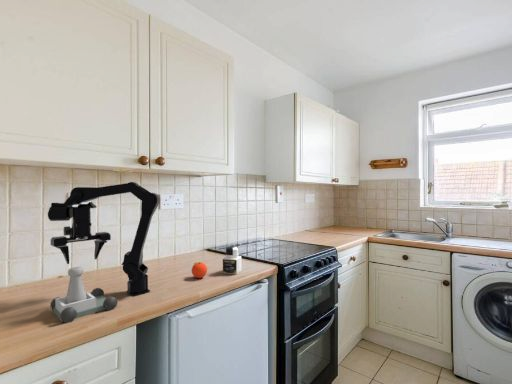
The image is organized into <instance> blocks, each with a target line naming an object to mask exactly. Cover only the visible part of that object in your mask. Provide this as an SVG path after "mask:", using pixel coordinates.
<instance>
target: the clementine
mask: <svg viewBox="0 0 512 384" xmlns="http://www.w3.org/2000/svg"><path fill="white" fill-rule="evenodd" d="M207 272H208V268H207V265H206V264H205V263H204V262H203V261H201V262H200V261H195V262H194V264H193V265H192V267H191V274H192V276H194V277H195V278H196V279H201V278H204V277H205V276H206V275H207Z"/></svg>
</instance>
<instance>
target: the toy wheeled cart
mask: <svg viewBox="0 0 512 384" xmlns="http://www.w3.org/2000/svg"><path fill="white" fill-rule="evenodd" d="M85 293H86V297H87V298H86V300H82V301H78V302H74V303H70V304H66V297H67V295H64V296H58V297H55V298H53V299H52V300H51V301H50V304H49V305H50V309H52V310H53V314H54V315H56V317H57V318H58V319H59V321H60V322H61V323H70V322H73V321H74V320H75V319H78V318H82V317H85V316H89V315H92V314H95V313H98V312H103V311H105V310H106V311H111V310H114V309H115V308H116V307H117V305H118V299H117V298H116V297H114V296H108V297H107V296H105V291H104V290H103V289H102V288H100V287H95V288H93V289H92V291H91V292H89V291H87V290H85Z"/></svg>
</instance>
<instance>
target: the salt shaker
mask: <svg viewBox="0 0 512 384" xmlns="http://www.w3.org/2000/svg"><path fill="white" fill-rule="evenodd" d="M84 272H85V271H84V267H82V266H73V267H70V268H69V269H68V270H67V276H69V282H68V288H67V292H66V296H67V297H66V304H70V303H74V302H78V301H82V300H86V298H87V297H86V293H85V291H86V289H85V286H84V282H83V278H82V275H84Z"/></svg>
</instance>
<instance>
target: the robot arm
mask: <svg viewBox="0 0 512 384" xmlns="http://www.w3.org/2000/svg"><path fill="white" fill-rule="evenodd" d="M127 193H128V194H129V193H131V194H132V195H133V196H134V197H136V198H137V199H138V200H140V201H141V203H140V205H141V206H140V207H141V208H140V210H141V211H140V212H141V214H140V219H139V222H138V225H137V229H136V233H135V236H134V239H133V243H132V247H131V249H130V251H127V252H126V253H125V254H124V256H123V261H122V262H121V266H122V270H123V272H124V273H125V274H126V276H127V277H128V281H127V291H126V293H128V294H130V295H131V296H138V295H142V294H146V293H150V292H151V290H150V289H149V282H148V281H149V279H148V278H149V275H148V274H147V272H148V270H149V267H148V266H146V265H145V264H144V263H143V261H144V252H143V251H144V247H145V243H146V240H147V235H148V232H149V229H150V227H151V222H152V218H153V217H154V214H155V212H156V211H157V209H158V207H159V204H160V202H161V197H160V195H159V194H158V193H156V192H150V190H147V189H146V188H145V187H143V186H141V185H139V183H137V182H133V181H130V182H127V183H119V184H113V185H105V186H99V187H94V186H93V187H92V186H91V187H89V186H83V187H82V186H76V187H74V188H72V189H71V191H70V194H69V196H68V197H67V199H66V200H65V201H64V202H51V203H50V206H49V209H48V211H47V217H48V220H49V221H50V222H62V221H64V222H67V221H70V220H71V219H72V225H71V226H64V227H63V236H54V237H51V238H50V246H52V247H55V248H57V249H58V250H60V251H61V253H62V255H63V257H64V260H65V262H66V264H67V265H70V253H69V252H70V250H69V245H68V244H70V243H77V242H86V241H93V242H94V255H93V256H94V260H97V259H98V257H99V255H100V252H101V250H102V248H103V247H104V245H105V244H106V243H108V241H111V240H112V239H111V237H112V236H111V233H109V232H107V231H102V232H101V231H99V232H95V233H94V234H93V233H92V231H91V230H92V229H91V227H92V222H91V220H92V219H91V216H92V215H91V209H96V208H97V205H95V204H94V202H93V200H97V199H99V198H102V197H109V196H114V195H121V194H127ZM87 202H88V203H87ZM75 205H76V206H75ZM92 234H93V235H92ZM66 236H69V237H66Z"/></svg>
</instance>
